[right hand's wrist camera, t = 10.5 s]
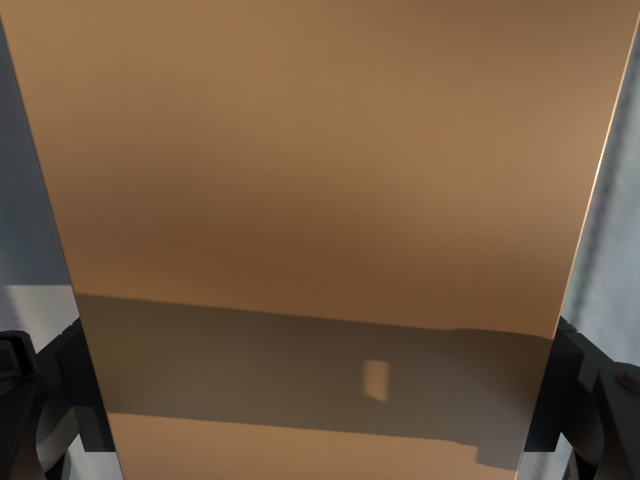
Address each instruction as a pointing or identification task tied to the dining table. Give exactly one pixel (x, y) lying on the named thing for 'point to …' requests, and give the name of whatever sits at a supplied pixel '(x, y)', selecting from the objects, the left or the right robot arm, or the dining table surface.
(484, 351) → the wide beam
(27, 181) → the dining table surface
